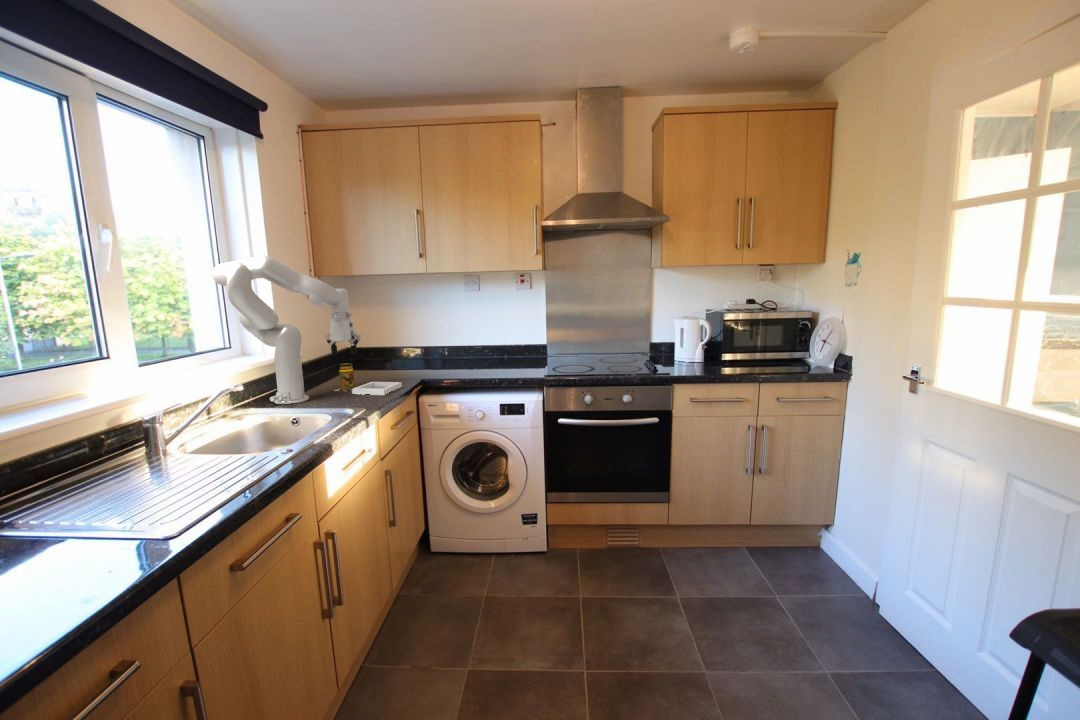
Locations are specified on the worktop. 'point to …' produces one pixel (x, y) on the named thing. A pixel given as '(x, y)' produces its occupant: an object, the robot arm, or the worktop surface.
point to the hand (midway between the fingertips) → (344, 354)
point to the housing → (376, 388)
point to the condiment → (346, 377)
